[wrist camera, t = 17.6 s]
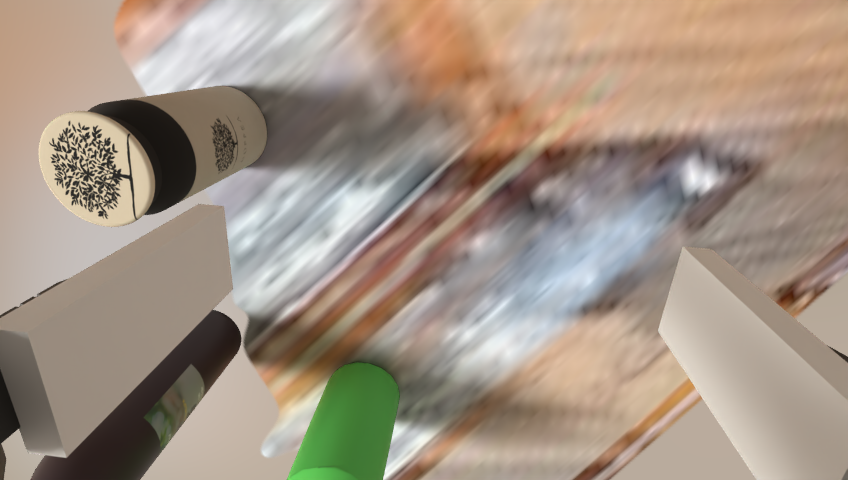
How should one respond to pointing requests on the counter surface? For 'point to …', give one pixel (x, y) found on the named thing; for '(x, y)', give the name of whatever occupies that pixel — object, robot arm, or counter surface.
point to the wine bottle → (151, 409)
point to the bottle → (350, 427)
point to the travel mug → (149, 151)
